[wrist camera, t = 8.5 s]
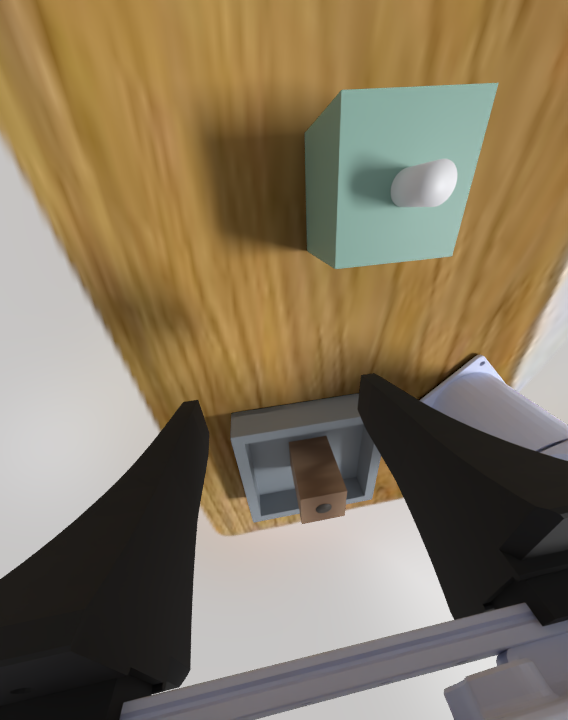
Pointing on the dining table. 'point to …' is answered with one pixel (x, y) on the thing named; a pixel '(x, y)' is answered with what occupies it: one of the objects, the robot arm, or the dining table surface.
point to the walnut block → (317, 480)
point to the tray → (272, 457)
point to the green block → (392, 172)
